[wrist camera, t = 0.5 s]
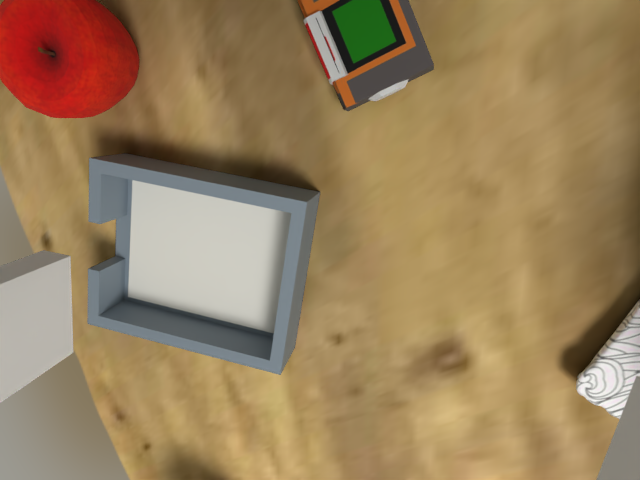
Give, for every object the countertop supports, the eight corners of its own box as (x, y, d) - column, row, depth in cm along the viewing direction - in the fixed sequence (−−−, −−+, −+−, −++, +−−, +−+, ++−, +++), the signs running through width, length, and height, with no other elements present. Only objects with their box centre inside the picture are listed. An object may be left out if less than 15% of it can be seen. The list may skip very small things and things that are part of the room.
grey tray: (125, 153, 38) (89, 157, 34) (320, 191, 36) (307, 202, 32) (120, 302, 42) (87, 323, 38) (294, 347, 40) (280, 374, 36)
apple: (87, 132, 39) (9, 136, 31) (47, 25, 37) (-46, 2, 29) (178, 101, 36) (116, 97, 29) (139, -15, 34) (63, -51, 27)
